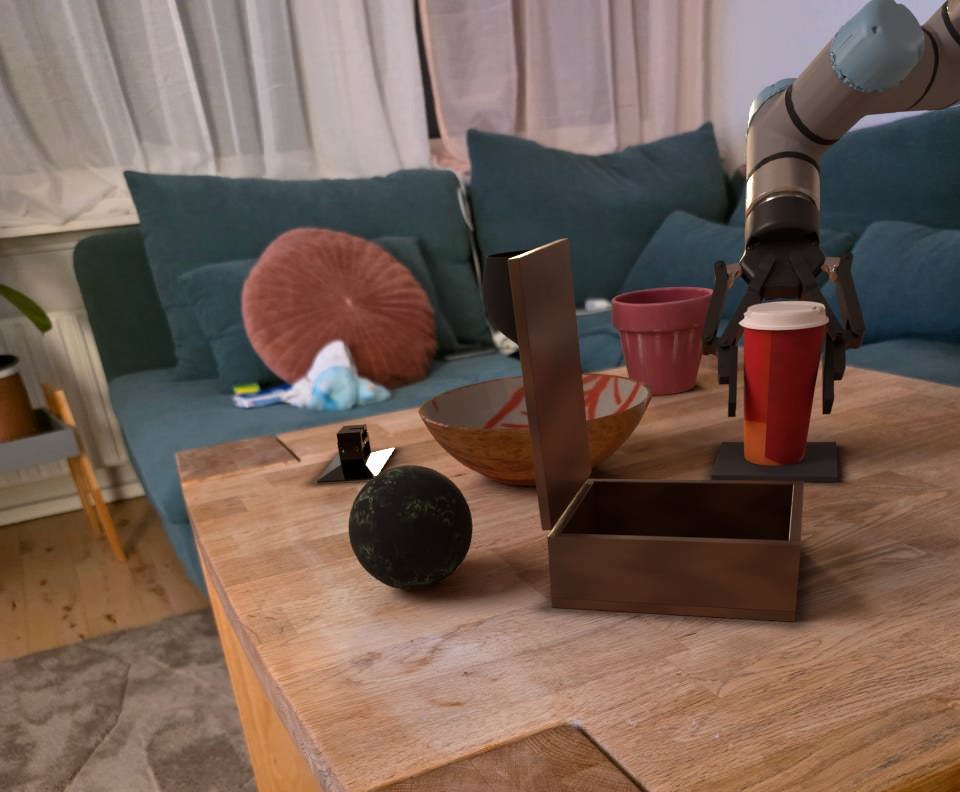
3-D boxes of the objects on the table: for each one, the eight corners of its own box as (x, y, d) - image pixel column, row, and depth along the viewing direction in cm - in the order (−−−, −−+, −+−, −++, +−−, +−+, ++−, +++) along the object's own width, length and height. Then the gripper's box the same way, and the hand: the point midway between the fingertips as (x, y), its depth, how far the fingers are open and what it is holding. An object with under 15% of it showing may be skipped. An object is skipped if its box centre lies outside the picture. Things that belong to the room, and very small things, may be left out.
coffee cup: (825, 449, 94) (840, 300, 87) (801, 472, 88) (816, 314, 81) (747, 442, 99) (756, 299, 92) (720, 464, 93) (727, 313, 86)
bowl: (630, 512, 85) (629, 429, 81) (391, 506, 93) (379, 430, 89) (669, 438, 106) (669, 369, 102) (470, 439, 114) (464, 375, 110)
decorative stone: (355, 617, 70) (334, 495, 65) (361, 568, 79) (343, 457, 74) (482, 602, 70) (469, 480, 65) (474, 555, 79) (462, 444, 74)
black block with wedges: (376, 481, 102) (369, 441, 100) (314, 485, 103) (306, 446, 100) (395, 449, 113) (389, 413, 110) (339, 453, 114) (332, 417, 111)
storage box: (798, 548, 74) (804, 480, 71) (794, 622, 62) (800, 545, 60) (589, 541, 79) (587, 478, 77) (551, 607, 68) (547, 536, 65)
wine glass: (477, 407, 129) (464, 258, 120) (529, 391, 135) (519, 248, 125) (527, 415, 122) (517, 257, 112) (579, 399, 127) (573, 247, 118)
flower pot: (670, 403, 120) (671, 303, 114) (593, 393, 130) (590, 300, 124) (733, 382, 128) (737, 287, 122) (656, 373, 138) (656, 285, 132)
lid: (568, 238, 68) (558, 239, 68) (518, 257, 57) (507, 259, 57) (591, 473, 76) (582, 473, 77) (552, 530, 65) (541, 531, 65)
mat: (835, 447, 97) (836, 441, 96) (837, 482, 87) (837, 476, 87) (722, 447, 101) (722, 441, 100) (711, 480, 91) (711, 475, 90)
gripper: (883, 236, 95) (887, 425, 89) (680, 251, 100) (671, 430, 94) (897, 182, 88) (903, 383, 82) (678, 201, 93) (669, 391, 87)
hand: (779, 408), depth 88 cm, fingers closed on coffee cup, 8 cm apart
